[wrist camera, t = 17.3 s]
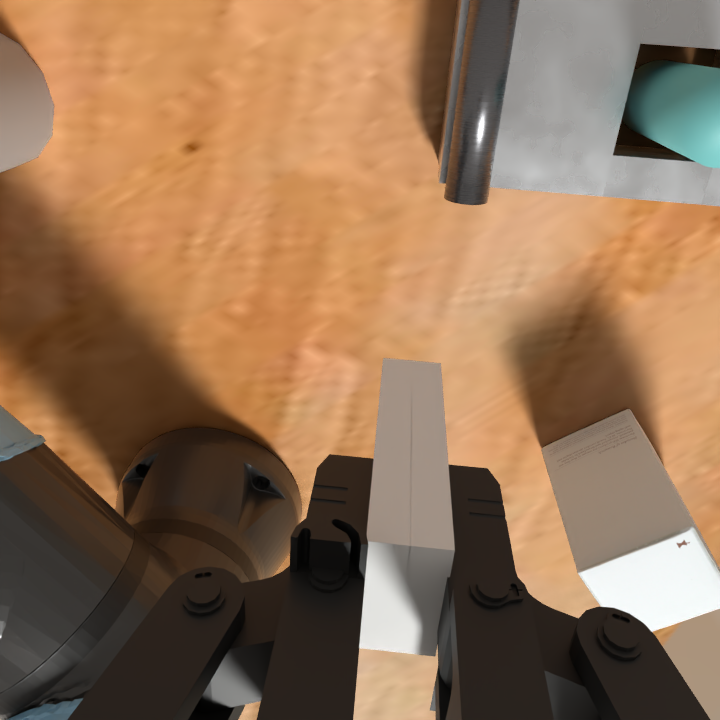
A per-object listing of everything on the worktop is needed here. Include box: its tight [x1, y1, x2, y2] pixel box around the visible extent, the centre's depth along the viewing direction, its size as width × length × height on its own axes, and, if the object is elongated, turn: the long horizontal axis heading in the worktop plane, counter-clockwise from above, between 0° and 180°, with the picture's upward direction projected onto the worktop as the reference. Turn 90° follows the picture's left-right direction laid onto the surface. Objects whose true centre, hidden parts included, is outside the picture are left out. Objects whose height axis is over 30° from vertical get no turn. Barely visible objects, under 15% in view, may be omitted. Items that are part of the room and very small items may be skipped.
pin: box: [622, 60, 720, 168], centre depth 32 cm, size 4×4×10 cm
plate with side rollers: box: [438, 0, 720, 206], centre depth 34 cm, size 11×24×6 cm, turn 86°
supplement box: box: [542, 409, 720, 632], centre depth 43 cm, size 7×7×13 cm
